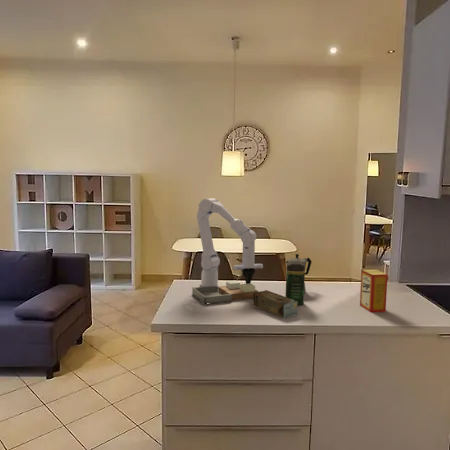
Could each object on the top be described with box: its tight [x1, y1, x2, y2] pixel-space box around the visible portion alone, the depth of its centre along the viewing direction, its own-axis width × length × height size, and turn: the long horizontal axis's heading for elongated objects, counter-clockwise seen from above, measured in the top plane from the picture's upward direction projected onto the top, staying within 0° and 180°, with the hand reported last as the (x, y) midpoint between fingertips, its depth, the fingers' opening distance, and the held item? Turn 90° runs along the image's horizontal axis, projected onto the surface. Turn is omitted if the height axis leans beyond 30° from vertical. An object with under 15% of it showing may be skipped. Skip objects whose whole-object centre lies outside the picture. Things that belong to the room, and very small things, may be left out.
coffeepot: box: [285, 253, 312, 293], centre depth 204 cm, size 15×9×18 cm, turn 118°
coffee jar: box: [284, 260, 306, 307], centre depth 182 cm, size 10×8×19 cm
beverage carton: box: [252, 290, 298, 319], centre depth 172 cm, size 8×19×7 cm, turn 36°
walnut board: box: [218, 284, 260, 302], centre depth 195 cm, size 14×14×3 cm
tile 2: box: [240, 283, 256, 292], centre depth 192 cm, size 5×5×2 cm
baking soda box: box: [359, 269, 388, 313], centre depth 176 cm, size 10×6×16 cm
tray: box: [191, 285, 232, 305], centre depth 190 cm, size 17×12×3 cm
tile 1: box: [225, 280, 241, 289], centre depth 197 cm, size 5×5×2 cm
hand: (248, 284), depth 200 cm, fingers closed
